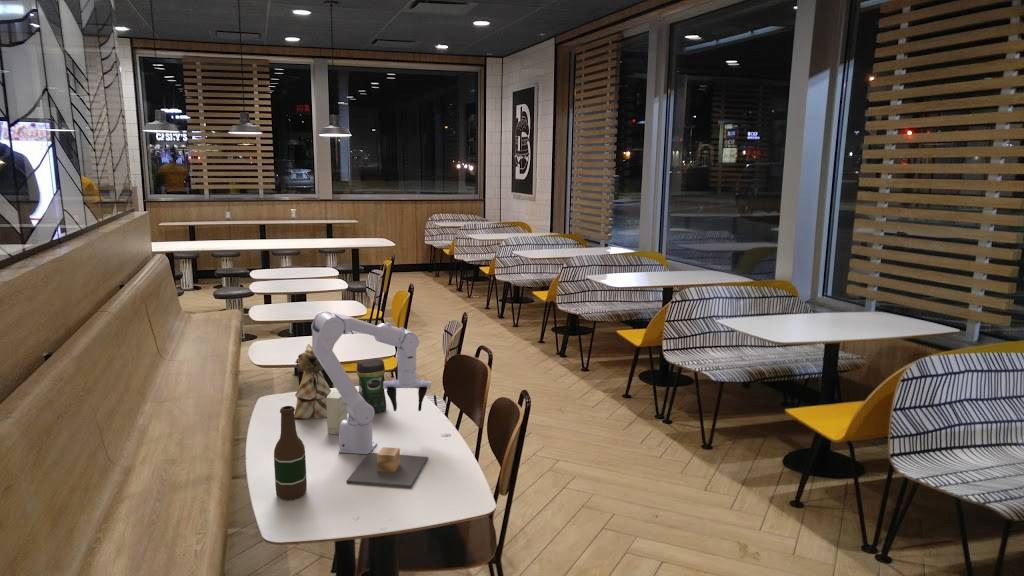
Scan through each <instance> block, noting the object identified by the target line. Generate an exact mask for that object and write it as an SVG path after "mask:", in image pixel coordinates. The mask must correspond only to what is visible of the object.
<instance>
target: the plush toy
mask: <svg viewBox="0 0 1024 576" xmlns="http://www.w3.org/2000/svg"><path fill="white" fill-rule="evenodd" d="M295 363H296V365H295V367H296V369H297V372H298V373H299V372H303V374H302V376H301V381H300V384H299V387H298V388H297V391H296V393H295V394H294V396H295V397H296V398H297V399H296V404H295V411H294V416H295V419H301V420H302V419H303V420H304V419H306V420H307V419H309V420H310V419H321V418H323V419H324V418H327V405H326V397H328V396H329V395H331V392H332V390H331V387H330V386H329V384H328V383H327V381H326V379H325V377H324V374H323V373H322V371H324V368H323V367H322V365H321V364H320V362H319V360H318V359H317V357H316V356H315V354H314V353H313V350H312V345H311V344H309V343H308V344H307V346H306V347H305V350H304V352H303V353H300V354H299V355H298V356H297V359H296V360H295Z"/></svg>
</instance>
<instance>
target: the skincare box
mask: <svg viewBox="0 0 1024 576" xmlns="http://www.w3.org/2000/svg"><path fill="white" fill-rule="evenodd" d="M326 405H327V417H326V422H327V423H326V424H327V427H326V428H327V434H331V435H339V427H340V424H341V422H342V420H347V419H348V413H347V412H346V411H345V405H344V402H343V400H342V396H341V395H340V393H339V392H338V391H333V392H332V393H330V394H329V395H328V396H327V397H326Z"/></svg>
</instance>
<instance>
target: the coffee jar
mask: <svg viewBox="0 0 1024 576" xmlns="http://www.w3.org/2000/svg"><path fill="white" fill-rule="evenodd" d="M385 372H386V366H385V363H384V360H383V359H382V358H381V357H378V358H377V357H376V358H369V359H362V360H357V363H356V374H357V376H358V392H359V394H360V395H361V396H362V397H363V399H364V400H365V401H366V402H367V403H368V404H370V405H371V406H372V407H373V408H374V411H375V414H378V413H382V412H385V410H387V400H386V399H387V398H386V393H385V389H383V383H384V375H385Z"/></svg>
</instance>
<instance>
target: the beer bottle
mask: <svg viewBox="0 0 1024 576" xmlns="http://www.w3.org/2000/svg"><path fill="white" fill-rule="evenodd" d="M295 409H296V407H295V406H292V405H285V406H282V407H281V408H280V410H279V413H280V436H279V439H278V441H277V442H276V444H275V447H274V450H273V466H274V481H275V482H274V483H275V494H276V496H277V497H278V498H279V499H280V500H281V501H296V500H297V499H300V498H302V497H304V496H305V494H306V492H307V484H308V483H307V463H306V448H305V445H304V443H303V442H304V441H303V440H302V439H301V438H300V437H299V435H298V433H297V425H296V420H295V419H296V418H295V416H294V414H295Z"/></svg>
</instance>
